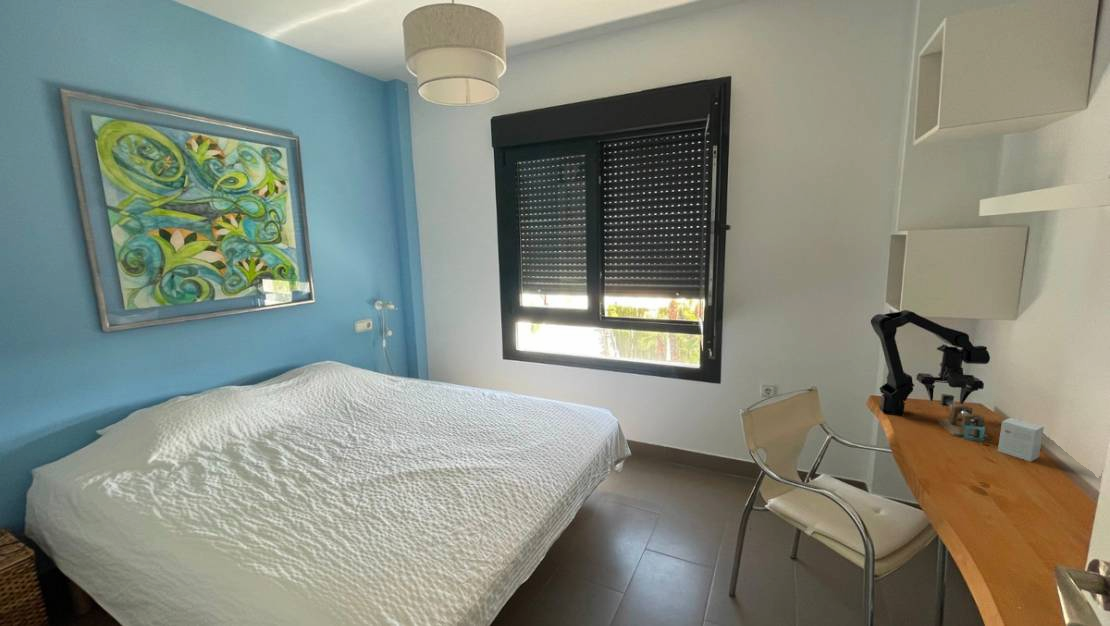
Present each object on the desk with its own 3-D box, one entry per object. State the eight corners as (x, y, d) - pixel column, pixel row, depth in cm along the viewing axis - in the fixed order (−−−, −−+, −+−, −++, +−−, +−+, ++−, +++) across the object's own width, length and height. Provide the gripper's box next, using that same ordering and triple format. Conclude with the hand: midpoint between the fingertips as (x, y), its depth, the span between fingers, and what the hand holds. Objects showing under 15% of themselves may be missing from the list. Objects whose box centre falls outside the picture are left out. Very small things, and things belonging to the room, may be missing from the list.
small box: (1039, 458, 139) (1045, 426, 137) (1030, 462, 137) (1037, 430, 135) (1004, 447, 146) (1010, 417, 144) (996, 451, 144) (1002, 420, 142)
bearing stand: (953, 436, 154) (956, 414, 153) (937, 421, 166) (940, 400, 165) (990, 440, 151) (994, 418, 149) (971, 424, 163) (974, 403, 161)
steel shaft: (966, 425, 153) (967, 414, 153) (940, 403, 172) (941, 394, 171) (977, 427, 152) (979, 416, 151) (950, 404, 171) (952, 395, 170)
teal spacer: (964, 439, 152) (966, 425, 151) (962, 437, 153) (964, 424, 153) (982, 441, 151) (985, 427, 150) (981, 439, 152) (983, 426, 151)
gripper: (930, 366, 164) (924, 406, 167) (995, 371, 158) (988, 413, 161) (918, 358, 175) (913, 396, 177) (979, 362, 168) (972, 402, 171)
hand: (945, 402), depth 171 cm, fingers open, 9 cm apart
